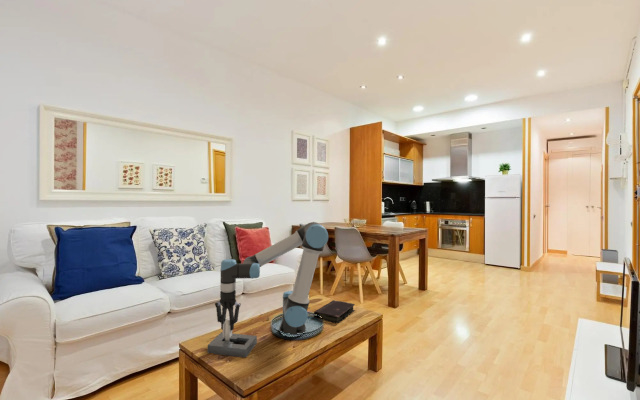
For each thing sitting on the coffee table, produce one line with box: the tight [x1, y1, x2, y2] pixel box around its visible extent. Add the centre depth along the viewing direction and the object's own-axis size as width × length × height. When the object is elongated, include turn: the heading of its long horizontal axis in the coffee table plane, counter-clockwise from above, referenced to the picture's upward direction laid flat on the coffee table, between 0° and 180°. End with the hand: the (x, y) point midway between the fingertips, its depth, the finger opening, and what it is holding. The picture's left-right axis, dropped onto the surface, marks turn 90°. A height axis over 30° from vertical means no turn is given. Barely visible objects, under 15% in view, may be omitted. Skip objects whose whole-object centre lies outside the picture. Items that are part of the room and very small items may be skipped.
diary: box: [313, 299, 356, 324], centre depth 202 cm, size 19×25×5 cm
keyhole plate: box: [207, 331, 258, 359], centre depth 155 cm, size 20×14×4 cm
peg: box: [225, 317, 231, 342], centre depth 156 cm, size 5×5×14 cm
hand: (227, 335), depth 156 cm, fingers closed on peg, 2 cm apart
